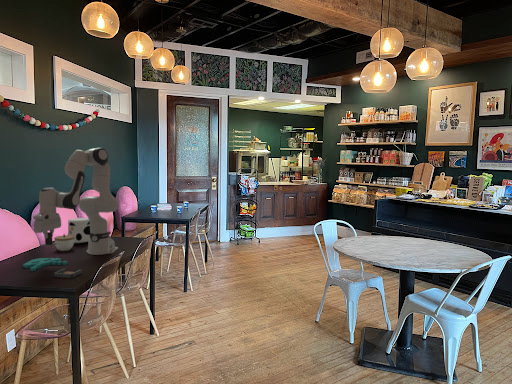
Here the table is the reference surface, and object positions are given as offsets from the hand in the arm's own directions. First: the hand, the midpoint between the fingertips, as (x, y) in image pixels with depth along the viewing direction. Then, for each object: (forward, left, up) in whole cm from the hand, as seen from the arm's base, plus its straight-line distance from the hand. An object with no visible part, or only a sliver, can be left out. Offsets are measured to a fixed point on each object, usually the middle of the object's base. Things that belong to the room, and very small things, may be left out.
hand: (48, 237), depth 227 cm
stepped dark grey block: (0, 0, -5) cm, 5 cm away
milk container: (-61, -19, -17) cm, 66 cm away
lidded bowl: (-38, -16, -17) cm, 44 cm away
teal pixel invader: (0, -4, -18) cm, 18 cm away
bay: (+15, +22, -17) cm, 32 cm away
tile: (+15, +22, -18) cm, 32 cm away
